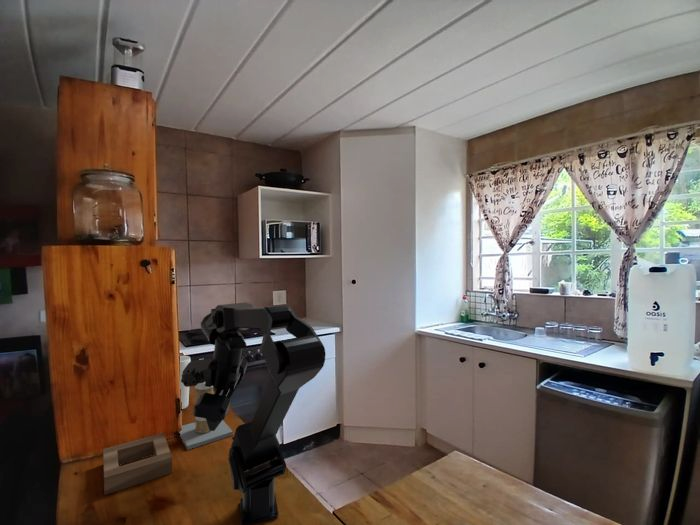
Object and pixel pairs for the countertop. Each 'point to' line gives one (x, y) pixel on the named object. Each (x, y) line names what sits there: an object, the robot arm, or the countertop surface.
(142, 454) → the bottle holder
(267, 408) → the robot arm
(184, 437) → the slate mat
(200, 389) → the sprinkles bottle
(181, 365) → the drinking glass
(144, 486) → the countertop surface
